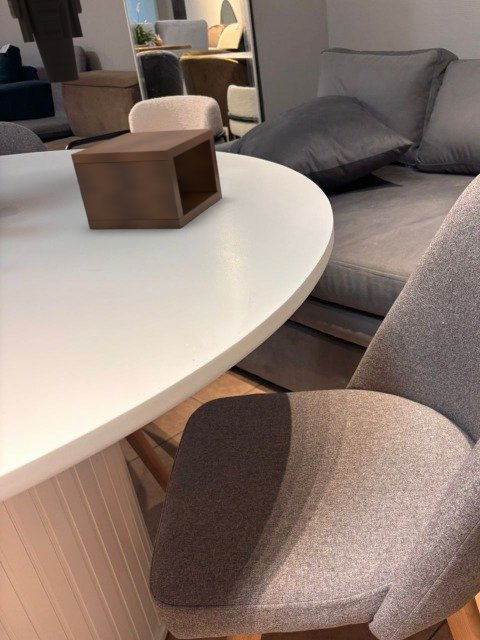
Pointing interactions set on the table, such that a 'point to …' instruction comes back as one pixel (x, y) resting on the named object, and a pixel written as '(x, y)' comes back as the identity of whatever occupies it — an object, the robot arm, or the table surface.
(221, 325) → the table surface
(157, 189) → the walnut shelf
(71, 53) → the drinking cup
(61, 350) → the table surface
